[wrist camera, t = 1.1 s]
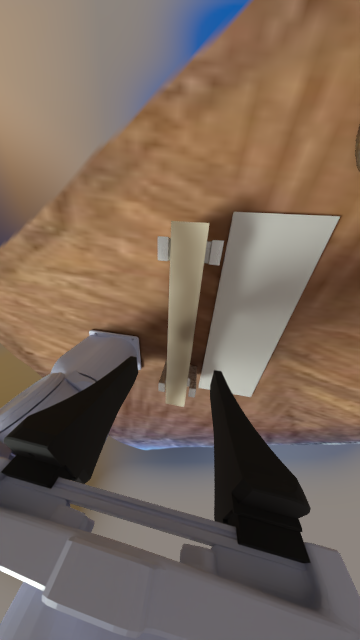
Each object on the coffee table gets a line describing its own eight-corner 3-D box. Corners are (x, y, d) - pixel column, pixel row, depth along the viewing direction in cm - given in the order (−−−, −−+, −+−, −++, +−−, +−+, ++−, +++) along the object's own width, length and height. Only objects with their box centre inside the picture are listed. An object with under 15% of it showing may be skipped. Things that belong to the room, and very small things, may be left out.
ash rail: (169, 386, 24) (165, 403, 21) (177, 227, 13) (171, 221, 11) (186, 389, 24) (183, 406, 21) (207, 229, 13) (209, 223, 10)
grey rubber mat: (198, 385, 27) (198, 387, 27) (233, 213, 14) (234, 211, 14) (249, 394, 26) (250, 397, 26) (334, 217, 13) (340, 216, 13)
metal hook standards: (165, 368, 26) (158, 390, 22) (169, 241, 16) (157, 236, 12) (195, 373, 26) (194, 397, 22) (218, 244, 16) (224, 240, 12)
